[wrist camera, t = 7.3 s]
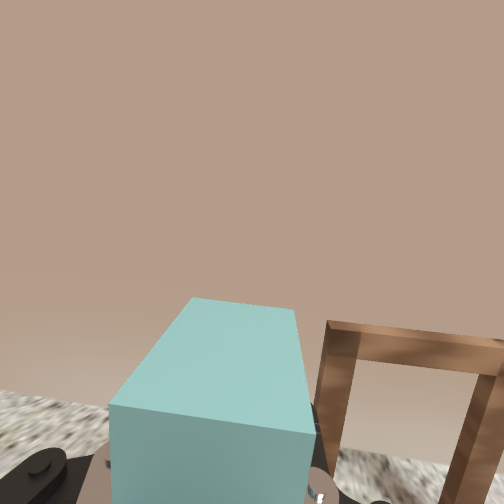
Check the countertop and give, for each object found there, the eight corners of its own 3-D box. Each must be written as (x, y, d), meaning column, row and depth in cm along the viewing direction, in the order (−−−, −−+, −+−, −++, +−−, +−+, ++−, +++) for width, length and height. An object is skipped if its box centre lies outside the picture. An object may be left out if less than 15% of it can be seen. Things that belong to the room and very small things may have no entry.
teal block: (119, 699, 8) (108, 403, 6) (183, 487, 14) (192, 297, 11) (262, 730, 8) (316, 434, 5) (266, 501, 14) (293, 310, 11)
